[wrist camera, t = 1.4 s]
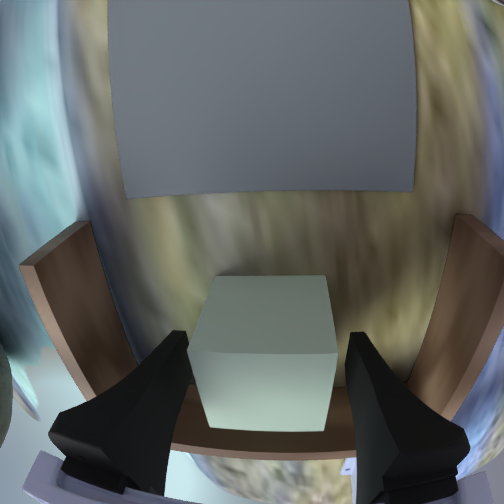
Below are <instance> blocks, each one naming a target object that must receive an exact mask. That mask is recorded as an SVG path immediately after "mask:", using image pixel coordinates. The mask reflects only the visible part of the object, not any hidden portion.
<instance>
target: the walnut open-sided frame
mask: <svg viewBox="0 0 504 504" xmlns="http://www.w3.org/2000/svg"><path fill="white" fill-rule="evenodd" d="M19 268H20V270H21V273H22V276H23V278H24V281H25V283H26V286H27V288H28V291H29V293H30V295H31V298H32V300H33V302H34V305H35V307H36V309H37V311H38V314H39V316H40V318H41V320H42V322H43V324H44V326H45V328H46V330H47V332H48V334H49V336H50V338H51V340H52V342H53V344H54V346H55V348H56V350H57V352H58V353H59V355H60V357H61V359H62V361H63V363H64V364H65V366H66V368H67V370H68V371H69V373H70V375H71V376H72V378H73V380H74V381H75V383H76V385H77V386H78V388H79V390H80V391H81V393H82V394H83V396H84V397H85V399H86V401H89V400H91V399H92V398H94V397H96V396H98V395H100V394H101V393H103V392H104V391H106V390H108V389H109V388H111V387H112V386H114V385H115V384H117V383H118V382H119V381H121V380H122V379H123V378H125V377H126V376H127V375H128V374H129V373H131V372H132V371H133V370H134V369H135V368H136V367H137V366H138V365H137V363H136V360H135V358H134V355H133V353H132V350H131V348H130V345H129V343H128V340H127V338H126V335H125V332H124V330H123V327H122V324H121V322H120V319H119V316H118V313H117V310H116V307H115V304H114V302H113V299H112V296H111V293H110V289H109V286H108V283H107V280H106V277H105V274H104V270H103V267H102V263H101V260H100V257H99V253H98V249H97V246H96V242H95V238H94V234H93V230H92V226H91V222H90V221H82V222H74V223H73V224H72V225H70V226H69V227H67V228H66V229H65V230H63V231H62V232H61V233H59V234H58V235H57V236H55V237H54V238H53V239H51V240H50V241H49V242H47V243H46V244H45V245H43V246H42V247H41V248H40V249H38V250H37V251H36V252H35V253H33V254H32V255H31V256H30V257H28V258H27V259H26V260H25V261H23V262H22V263H21V264H20V265H19ZM503 326H504V241H503V240H502V239H501V238H500V237H499V236H498V235H496V234H495V233H494V232H493V231H492V230H490V229H489V228H488V227H487V226H485V225H484V224H483V223H482V222H480V221H479V220H478V219H477V218H475V217H474V216H473V215H461V214H455V220H454V225H453V231H452V236H451V241H450V246H449V251H448V256H447V260H446V264H445V269H444V273H443V277H442V281H441V285H440V288H439V292H438V296H437V299H436V303H435V306H434V310H433V313H432V316H431V319H430V323H429V326H428V329H427V332H426V335H425V338H424V341H423V344H422V346H421V349H420V352H419V355H418V357H417V360H416V363H415V365H414V368H413V370H412V373H411V375H410V378H409V380H408V382H405V383H403V384H404V385H405V386H406V387H407V388H408V389H409V390H410V391H411V392H412V393H413V394H414V395H415V396H417V397H418V398H419V399H420V400H421V401H422V402H424V403H425V404H426V405H427V406H429V407H430V408H431V409H432V410H434V411H435V412H436V413H438V414H439V415H441V416H442V417H444V418H445V419H447V420H449V421H451V420H452V418H453V417H454V415H455V414H456V412H457V411H458V409H459V408H460V406H461V405H462V403H463V401H464V400H465V398H466V397H467V395H468V393H469V392H470V390H471V388H472V387H473V385H474V383H475V381H476V380H477V378H478V376H479V374H480V372H481V371H482V369H483V367H484V365H485V363H486V361H487V359H488V357H489V355H490V353H491V351H492V349H493V347H494V345H495V343H496V341H497V339H498V337H499V335H500V332H501V330H502V328H503ZM170 450H176V451H181V452H188V453H194V454H202V455H210V456H219V457H229V458H241V459H257V460H327V459H343V458H355V457H356V437H355V428H354V422H353V416H352V411H351V406H350V401H349V396H348V391H347V388H332V393H331V398H330V403H329V408H328V413H327V418H326V423H325V427H324V431H298V432H288V431H253V430H236V429H224V428H213V427H210V426H209V423H208V420H207V417H206V414H205V411H204V408H203V404H202V401H201V398H200V395H199V391H198V388H197V385H194V384H189V386H188V389H187V392H186V395H185V398H184V401H183V404H182V407H181V409H180V412H179V415H178V418H177V421H176V425H175V428H174V433H173V438H172V443H171V448H170Z"/></svg>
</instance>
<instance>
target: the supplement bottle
mask: <svg viewBox="0 0 504 504" xmlns="http://www.w3.org/2000/svg"><path fill="white" fill-rule="evenodd" d="M492 1H493V2H495V3H497V4H499V5H501V6H504V0H492Z"/></svg>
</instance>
